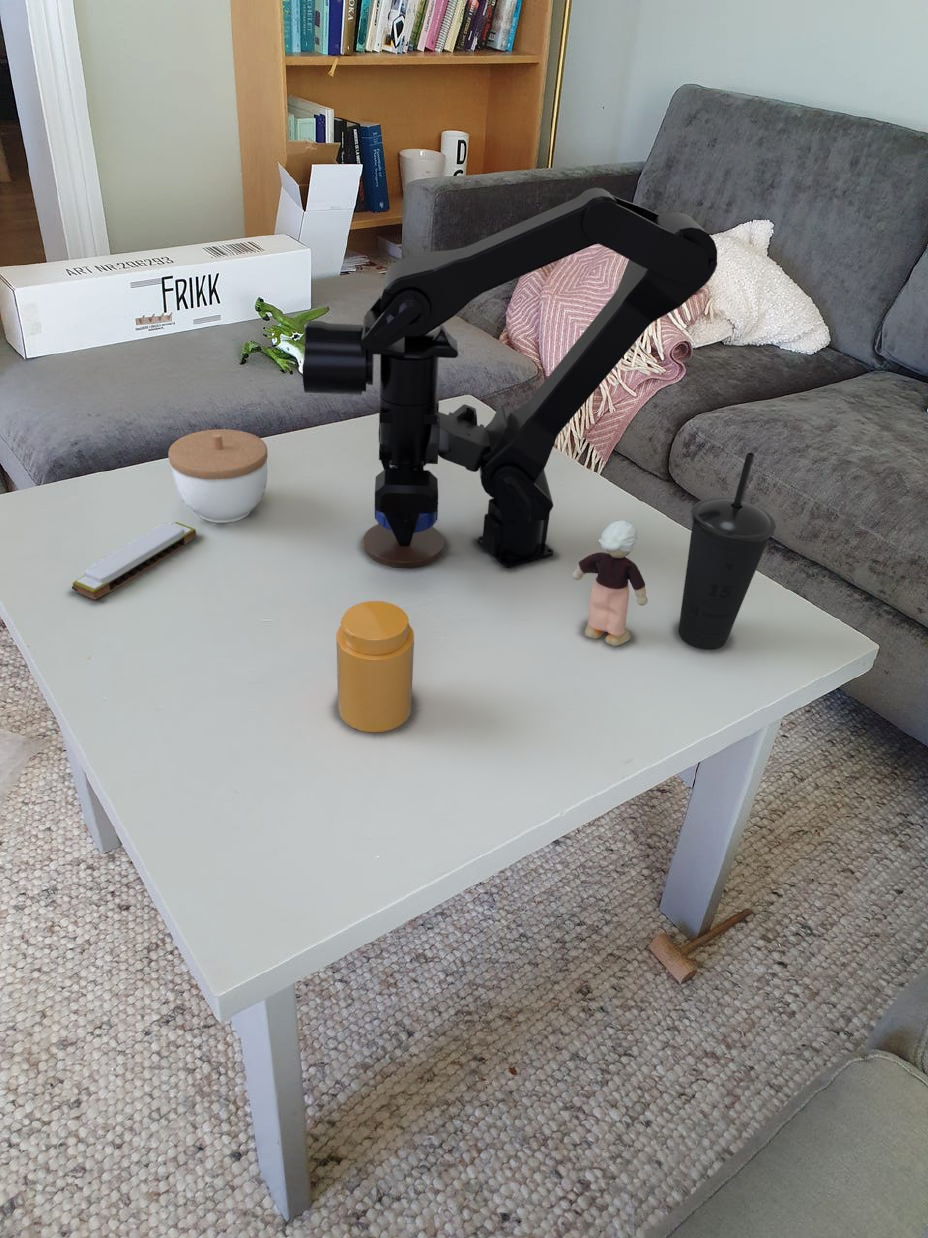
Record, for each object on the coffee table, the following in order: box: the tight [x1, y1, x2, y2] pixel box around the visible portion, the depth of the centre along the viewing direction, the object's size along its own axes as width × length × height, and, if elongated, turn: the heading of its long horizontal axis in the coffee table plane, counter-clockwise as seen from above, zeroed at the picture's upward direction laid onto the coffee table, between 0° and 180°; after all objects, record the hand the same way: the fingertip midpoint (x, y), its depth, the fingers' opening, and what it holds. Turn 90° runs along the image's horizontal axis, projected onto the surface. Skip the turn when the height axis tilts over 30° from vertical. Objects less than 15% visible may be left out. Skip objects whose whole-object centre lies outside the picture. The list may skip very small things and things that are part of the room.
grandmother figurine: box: [571, 520, 648, 647], centre depth 88 cm, size 8×4×13 cm, turn 71°
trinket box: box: [167, 428, 269, 524], centre depth 104 cm, size 11×11×9 cm
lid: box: [374, 509, 439, 533], centre depth 100 cm, size 7×7×2 cm
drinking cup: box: [677, 452, 777, 651], centre depth 86 cm, size 8×8×20 cm
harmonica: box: [71, 521, 197, 601], centre depth 96 cm, size 15×3×2 cm, turn 151°
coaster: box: [362, 523, 445, 569], centre depth 102 cm, size 9×9×1 cm
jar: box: [335, 600, 415, 733], centre depth 78 cm, size 6×6×10 cm
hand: (404, 529), depth 101 cm, fingers closed on lid, 6 cm apart
